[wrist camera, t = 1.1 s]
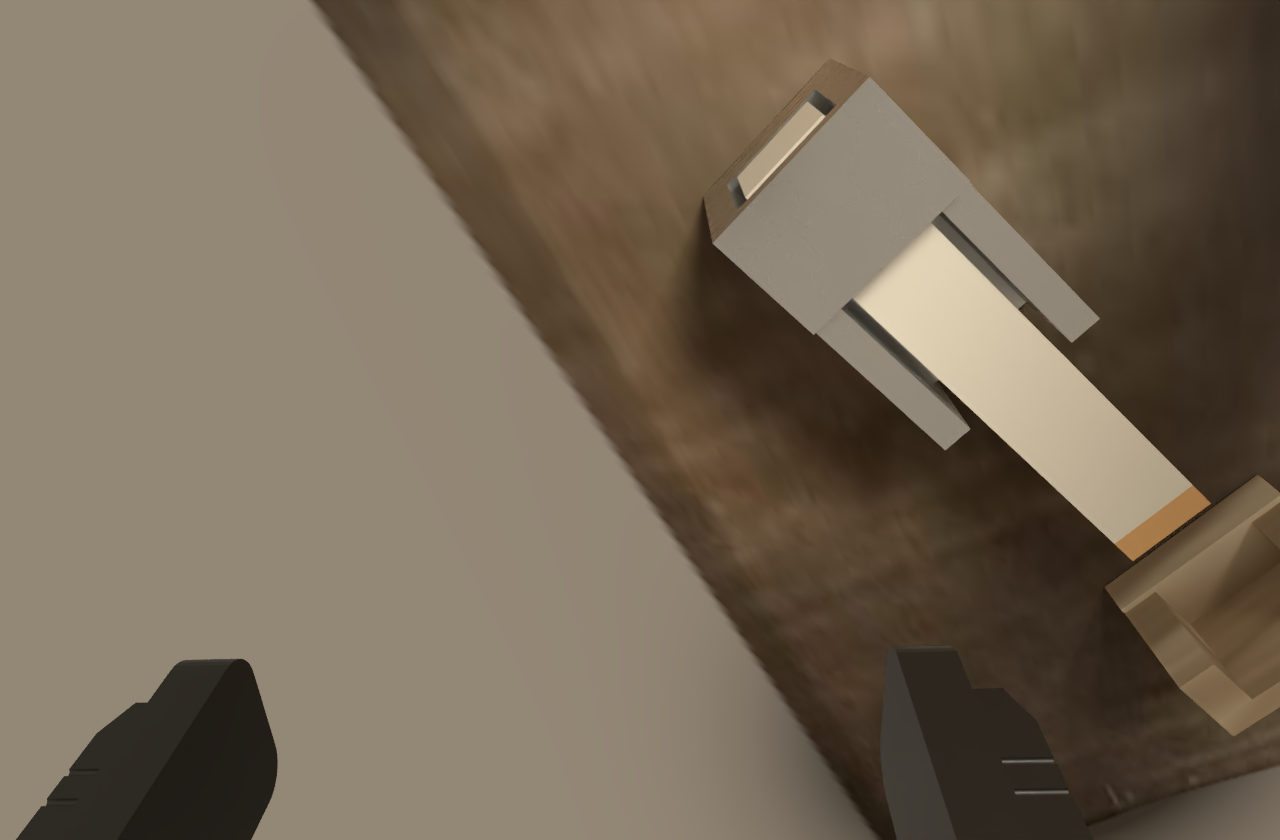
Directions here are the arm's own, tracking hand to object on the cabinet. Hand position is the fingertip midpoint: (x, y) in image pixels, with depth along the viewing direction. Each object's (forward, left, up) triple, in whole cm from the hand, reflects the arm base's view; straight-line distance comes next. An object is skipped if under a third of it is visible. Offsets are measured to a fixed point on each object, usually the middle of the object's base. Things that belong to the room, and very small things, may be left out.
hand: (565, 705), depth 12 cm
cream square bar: (-10, +6, -20) cm, 23 cm away
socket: (-18, +19, -22) cm, 34 cm away
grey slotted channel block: (-8, +2, -22) cm, 24 cm away
